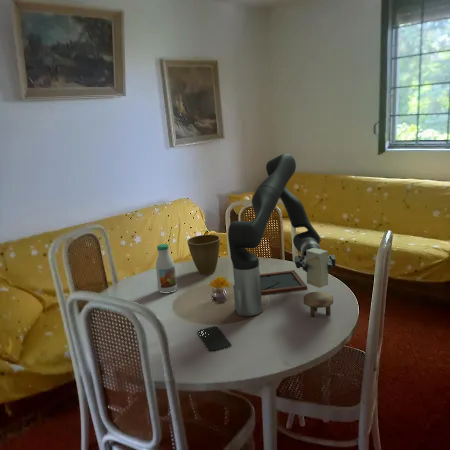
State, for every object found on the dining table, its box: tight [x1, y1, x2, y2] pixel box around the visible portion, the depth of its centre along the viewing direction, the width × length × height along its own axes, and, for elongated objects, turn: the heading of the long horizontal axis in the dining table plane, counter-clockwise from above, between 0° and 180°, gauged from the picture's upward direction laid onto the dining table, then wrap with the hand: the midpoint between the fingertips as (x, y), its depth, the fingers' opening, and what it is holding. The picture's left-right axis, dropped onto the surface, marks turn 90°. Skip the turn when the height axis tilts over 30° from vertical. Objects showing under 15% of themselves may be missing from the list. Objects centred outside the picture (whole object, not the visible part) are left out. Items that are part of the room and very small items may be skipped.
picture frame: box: [260, 269, 308, 296], centre depth 184 cm, size 20×2×25 cm
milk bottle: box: [155, 243, 178, 292], centre depth 184 cm, size 8×8×20 cm
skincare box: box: [306, 247, 329, 289], centre depth 150 cm, size 6×4×12 cm
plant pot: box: [186, 234, 221, 276], centre depth 203 cm, size 15×15×16 cm
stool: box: [302, 291, 334, 319], centre depth 153 cm, size 10×10×6 cm
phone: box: [197, 325, 232, 352], centre depth 143 cm, size 7×1×15 cm
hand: (318, 268), depth 148 cm, fingers closed on skincare box, 7 cm apart
